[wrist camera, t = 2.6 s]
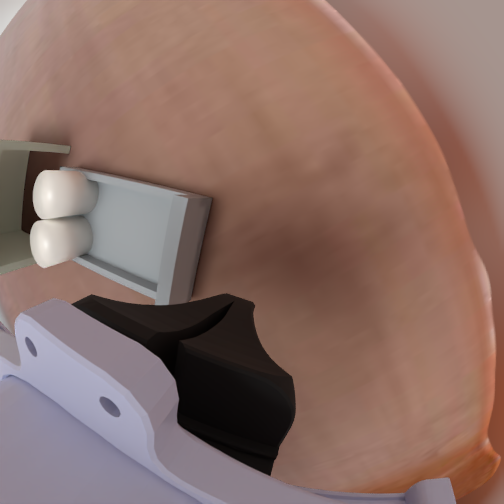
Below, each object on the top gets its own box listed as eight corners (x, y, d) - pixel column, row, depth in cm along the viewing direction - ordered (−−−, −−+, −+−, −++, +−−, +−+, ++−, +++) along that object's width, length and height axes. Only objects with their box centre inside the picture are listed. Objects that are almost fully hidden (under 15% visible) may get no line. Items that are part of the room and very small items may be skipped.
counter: (70, 146, 22) (-9, 139, 12) (57, 257, 24) (-14, 279, 15) (28, 142, 23) (-34, 139, 14) (18, 234, 26) (-40, 247, 16)
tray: (212, 198, 19) (174, 198, 14) (190, 299, 21) (153, 330, 16) (75, 167, 21) (30, 165, 16) (66, 245, 23) (24, 256, 18)
